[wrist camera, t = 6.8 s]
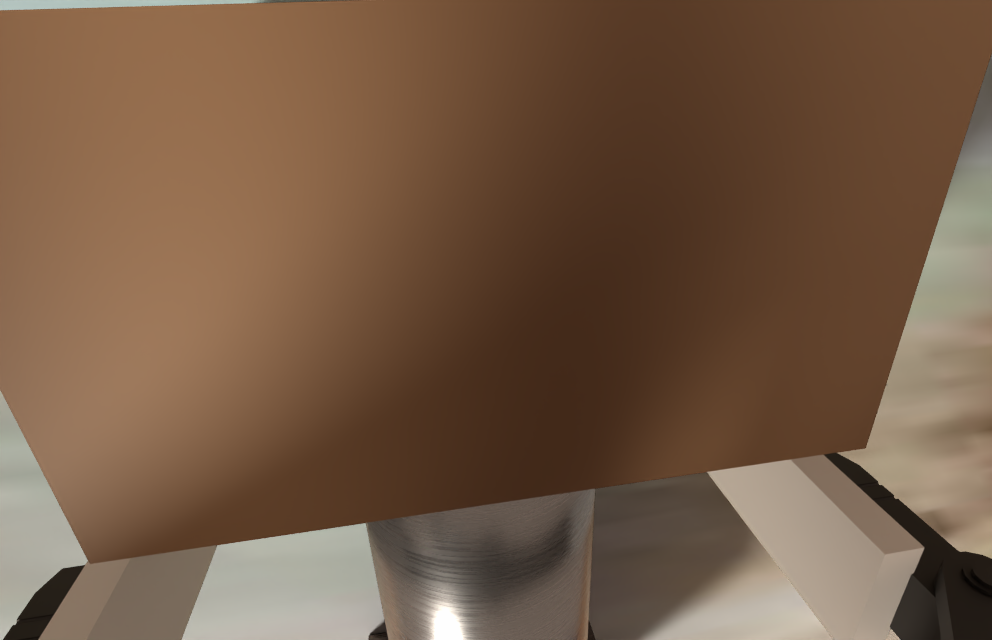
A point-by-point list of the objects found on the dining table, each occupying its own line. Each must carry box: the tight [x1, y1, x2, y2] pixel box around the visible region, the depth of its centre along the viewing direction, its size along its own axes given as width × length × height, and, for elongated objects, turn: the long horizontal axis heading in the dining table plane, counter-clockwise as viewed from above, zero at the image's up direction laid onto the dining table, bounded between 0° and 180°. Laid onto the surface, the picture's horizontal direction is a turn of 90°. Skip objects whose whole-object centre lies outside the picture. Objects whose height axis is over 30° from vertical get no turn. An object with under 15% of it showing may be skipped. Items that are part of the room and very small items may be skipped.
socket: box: [0, 0, 992, 564], centre depth 9 cm, size 9×5×10 cm, turn 92°
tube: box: [366, 489, 595, 640], centre depth 14 cm, size 20×5×5 cm, turn 2°
